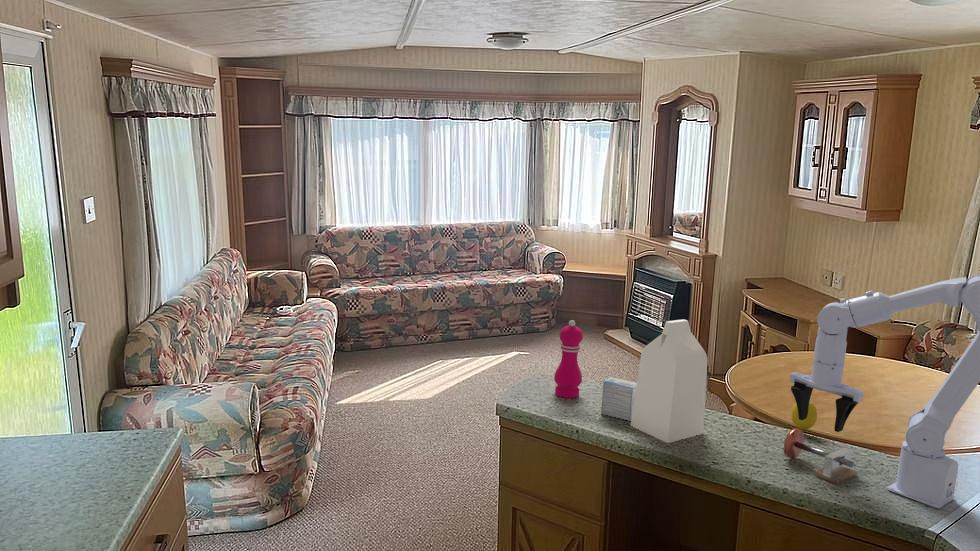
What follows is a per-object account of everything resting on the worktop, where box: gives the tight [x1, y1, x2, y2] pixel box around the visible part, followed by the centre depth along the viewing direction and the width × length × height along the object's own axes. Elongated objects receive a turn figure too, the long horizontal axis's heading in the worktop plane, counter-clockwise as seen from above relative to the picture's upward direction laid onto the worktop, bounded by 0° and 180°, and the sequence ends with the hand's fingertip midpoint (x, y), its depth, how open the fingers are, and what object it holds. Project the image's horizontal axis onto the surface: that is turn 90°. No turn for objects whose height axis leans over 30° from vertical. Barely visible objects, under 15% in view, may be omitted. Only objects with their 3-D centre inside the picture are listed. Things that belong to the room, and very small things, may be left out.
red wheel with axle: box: [783, 427, 855, 468], centre depth 151 cm, size 14×6×6 cm, turn 39°
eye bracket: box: [813, 446, 859, 486], centre depth 148 cm, size 5×8×5 cm, turn 128°
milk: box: [630, 319, 708, 444], centre depth 167 cm, size 12×12×26 cm
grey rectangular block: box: [600, 376, 637, 422], centre depth 176 cm, size 8×4×9 cm, turn 58°
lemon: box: [791, 400, 818, 432], centre depth 172 cm, size 6×6×8 cm
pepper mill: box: [553, 319, 584, 399], centre depth 189 cm, size 7×7×20 cm
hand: (820, 424), depth 151 cm, fingers open, 7 cm apart
